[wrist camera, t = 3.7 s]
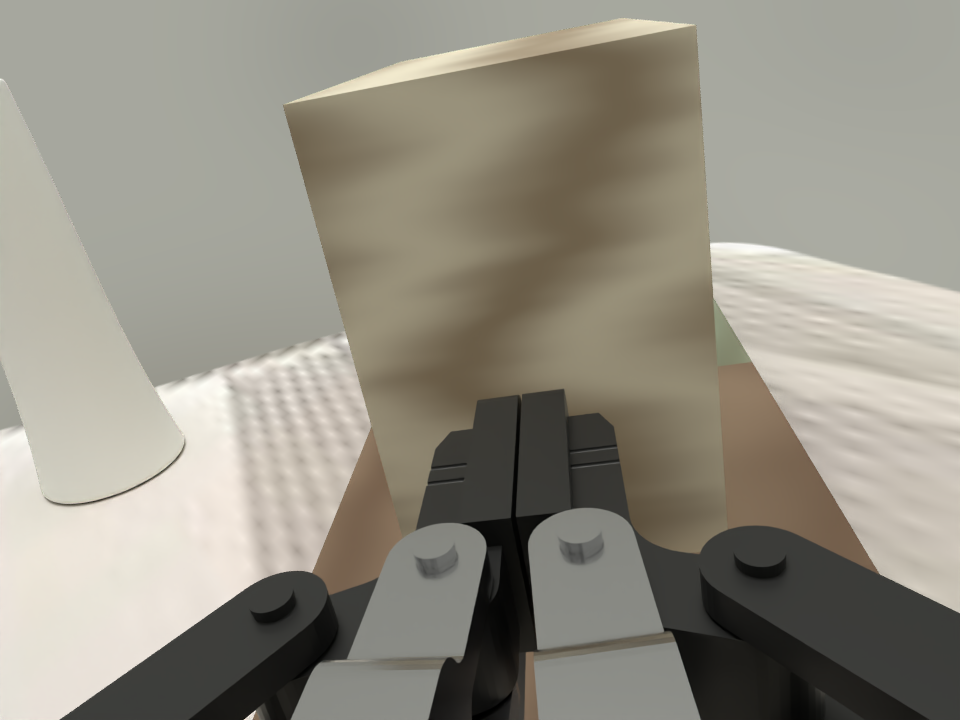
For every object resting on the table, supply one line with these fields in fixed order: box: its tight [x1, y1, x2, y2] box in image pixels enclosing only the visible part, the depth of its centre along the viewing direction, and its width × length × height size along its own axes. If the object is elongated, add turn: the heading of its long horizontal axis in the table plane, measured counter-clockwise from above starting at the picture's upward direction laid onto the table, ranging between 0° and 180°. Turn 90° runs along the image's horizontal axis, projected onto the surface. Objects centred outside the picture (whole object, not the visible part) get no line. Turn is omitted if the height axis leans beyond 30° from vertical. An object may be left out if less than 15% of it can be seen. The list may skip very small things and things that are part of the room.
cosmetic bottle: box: [0, 79, 184, 504], centre depth 29 cm, size 6×6×22 cm
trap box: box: [253, 298, 879, 720], centre depth 26 cm, size 14×30×2 cm, turn 175°
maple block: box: [283, 18, 728, 553], centre depth 23 cm, size 8×14×12 cm, turn 175°
